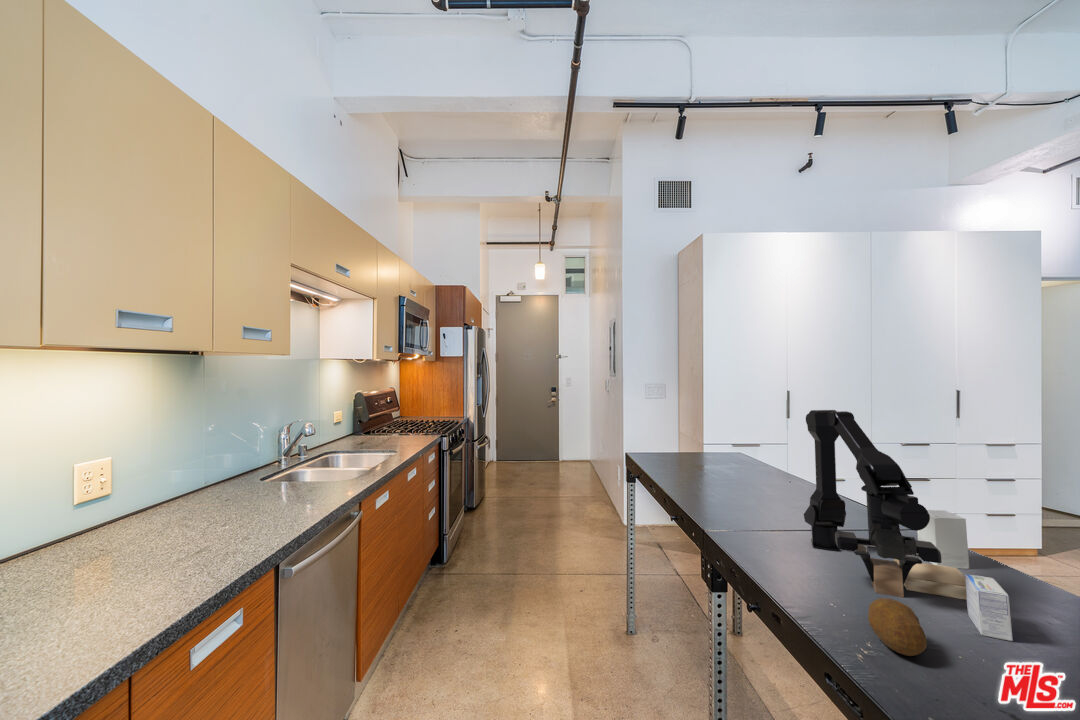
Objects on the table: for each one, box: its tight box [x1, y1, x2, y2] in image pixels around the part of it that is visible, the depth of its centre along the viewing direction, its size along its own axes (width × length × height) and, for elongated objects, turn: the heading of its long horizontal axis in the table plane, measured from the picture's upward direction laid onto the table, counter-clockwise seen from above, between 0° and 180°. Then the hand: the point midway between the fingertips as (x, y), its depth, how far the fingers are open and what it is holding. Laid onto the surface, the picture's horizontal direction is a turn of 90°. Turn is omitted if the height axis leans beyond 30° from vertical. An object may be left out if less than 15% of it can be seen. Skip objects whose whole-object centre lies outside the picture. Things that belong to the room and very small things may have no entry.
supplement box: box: [917, 509, 970, 570], centre depth 113 cm, size 7×7×13 cm
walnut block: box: [870, 557, 905, 598], centre depth 100 cm, size 5×5×6 cm
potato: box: [867, 597, 928, 657], centre depth 80 cm, size 8×12×8 cm, turn 169°
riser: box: [893, 559, 967, 601], centre depth 102 cm, size 12×12×3 cm
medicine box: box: [964, 574, 1014, 642], centre depth 84 cm, size 8×4×9 cm, turn 148°
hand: (886, 583), depth 100 cm, fingers closed on walnut block, 5 cm apart
